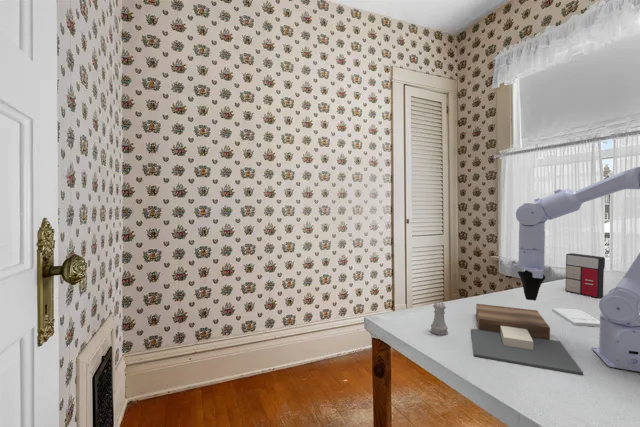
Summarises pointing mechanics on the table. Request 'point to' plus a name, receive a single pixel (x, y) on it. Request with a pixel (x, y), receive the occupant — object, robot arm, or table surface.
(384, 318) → the table surface
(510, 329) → the ivory tile
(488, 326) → the walnut deck
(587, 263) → the red and grey box
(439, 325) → the rook chess piece
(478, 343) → the rubber mat
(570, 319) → the external hard drive
